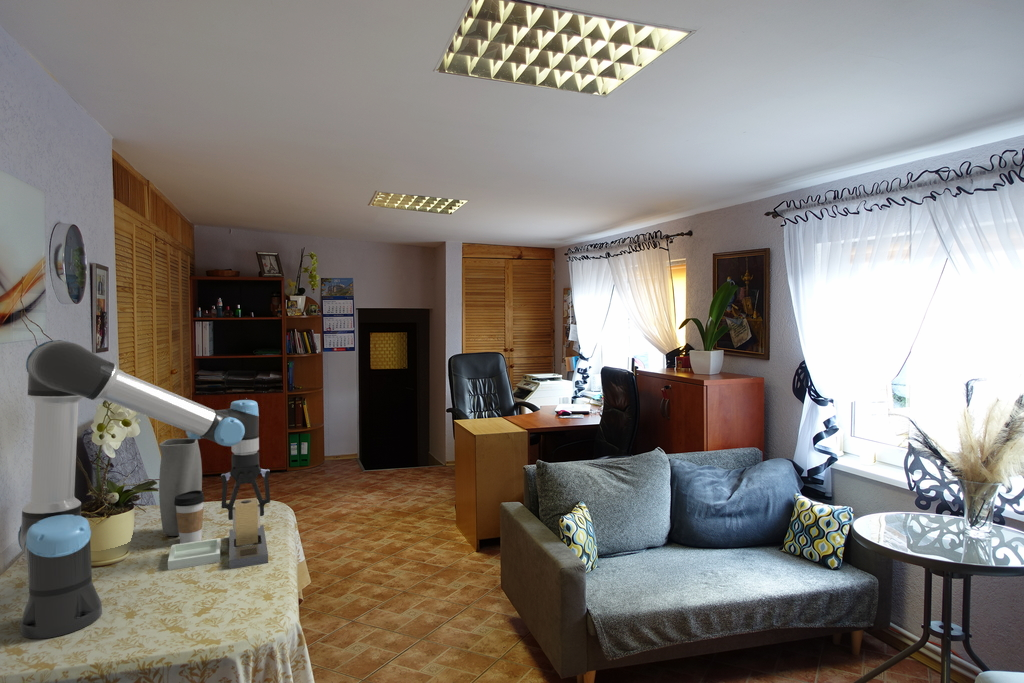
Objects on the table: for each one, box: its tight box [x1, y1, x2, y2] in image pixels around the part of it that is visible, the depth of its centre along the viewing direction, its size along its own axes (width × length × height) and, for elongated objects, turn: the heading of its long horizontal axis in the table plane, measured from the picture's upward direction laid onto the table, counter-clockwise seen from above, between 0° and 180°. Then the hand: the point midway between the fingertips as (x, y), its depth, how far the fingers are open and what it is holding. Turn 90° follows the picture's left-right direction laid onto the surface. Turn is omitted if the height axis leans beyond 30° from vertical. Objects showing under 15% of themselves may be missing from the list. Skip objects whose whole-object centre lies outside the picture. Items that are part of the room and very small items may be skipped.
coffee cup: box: [174, 490, 205, 544], centre depth 188 cm, size 8×8×15 cm
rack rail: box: [228, 524, 269, 570], centre depth 182 cm, size 26×10×3 cm, turn 25°
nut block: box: [234, 497, 259, 547], centre depth 181 cm, size 6×6×12 cm
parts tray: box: [167, 537, 222, 571], centre depth 176 cm, size 13×13×2 cm
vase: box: [158, 437, 203, 537], centre depth 195 cm, size 12×12×30 cm
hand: (246, 528), depth 181 cm, fingers closed on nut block, 6 cm apart
